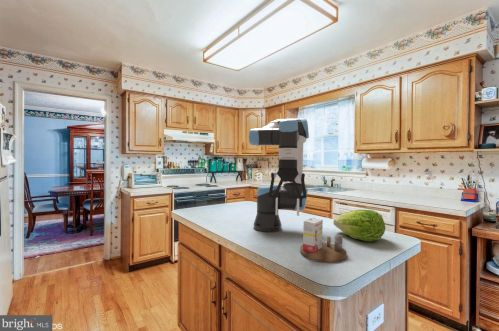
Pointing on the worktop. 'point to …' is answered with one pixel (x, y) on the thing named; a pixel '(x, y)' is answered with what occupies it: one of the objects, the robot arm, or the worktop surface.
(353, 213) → the lettuce
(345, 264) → the worktop surface
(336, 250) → the disc
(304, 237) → the ink box
